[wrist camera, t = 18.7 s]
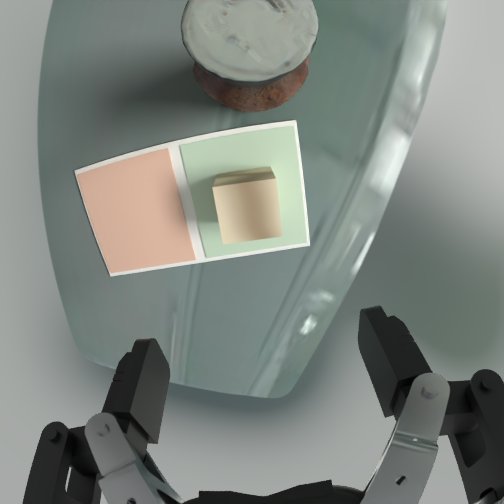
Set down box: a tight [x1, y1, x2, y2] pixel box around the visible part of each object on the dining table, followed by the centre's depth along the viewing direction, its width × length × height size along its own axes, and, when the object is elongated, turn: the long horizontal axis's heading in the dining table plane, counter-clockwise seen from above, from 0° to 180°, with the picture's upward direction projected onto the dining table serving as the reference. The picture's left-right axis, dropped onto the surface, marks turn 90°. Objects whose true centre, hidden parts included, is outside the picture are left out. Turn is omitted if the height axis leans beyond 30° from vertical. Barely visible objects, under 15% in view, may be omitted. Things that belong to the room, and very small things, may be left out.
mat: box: [75, 120, 310, 276], centre depth 29 cm, size 13×23×1 cm, turn 99°
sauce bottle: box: [181, 0, 319, 112], centre depth 15 cm, size 7×6×20 cm
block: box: [212, 166, 282, 244], centre depth 26 cm, size 5×5×5 cm
